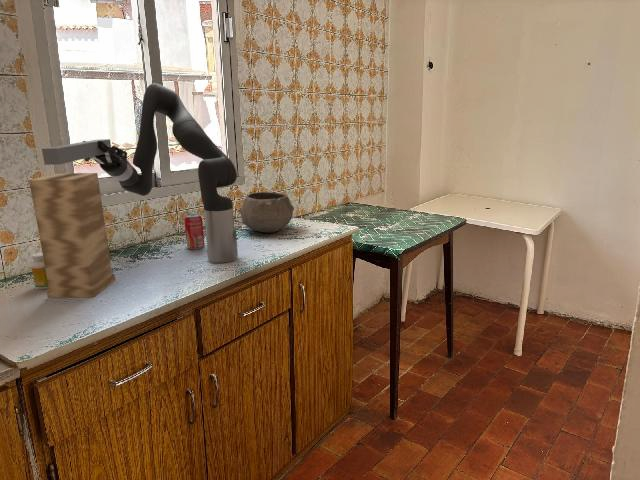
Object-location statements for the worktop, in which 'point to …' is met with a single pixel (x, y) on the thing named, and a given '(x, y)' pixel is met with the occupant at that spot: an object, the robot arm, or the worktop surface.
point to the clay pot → (266, 211)
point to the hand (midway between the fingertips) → (91, 143)
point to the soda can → (194, 231)
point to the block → (72, 152)
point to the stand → (72, 234)
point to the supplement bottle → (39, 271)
